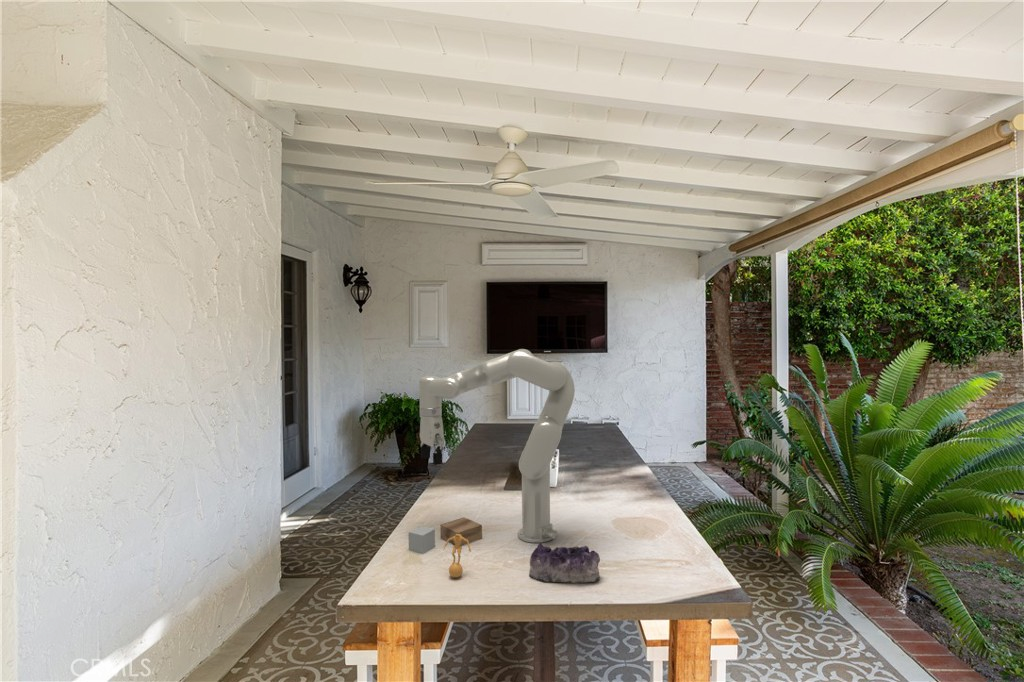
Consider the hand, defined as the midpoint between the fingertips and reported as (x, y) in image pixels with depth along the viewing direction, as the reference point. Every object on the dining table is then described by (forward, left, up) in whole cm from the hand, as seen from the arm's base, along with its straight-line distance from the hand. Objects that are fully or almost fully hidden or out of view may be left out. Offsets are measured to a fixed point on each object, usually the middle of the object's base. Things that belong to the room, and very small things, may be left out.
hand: (431, 461), depth 195 cm
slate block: (-8, +11, -25) cm, 29 cm away
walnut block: (-11, -3, -26) cm, 28 cm away
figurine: (-31, +15, -25) cm, 43 cm away
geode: (-54, -6, -26) cm, 60 cm away
